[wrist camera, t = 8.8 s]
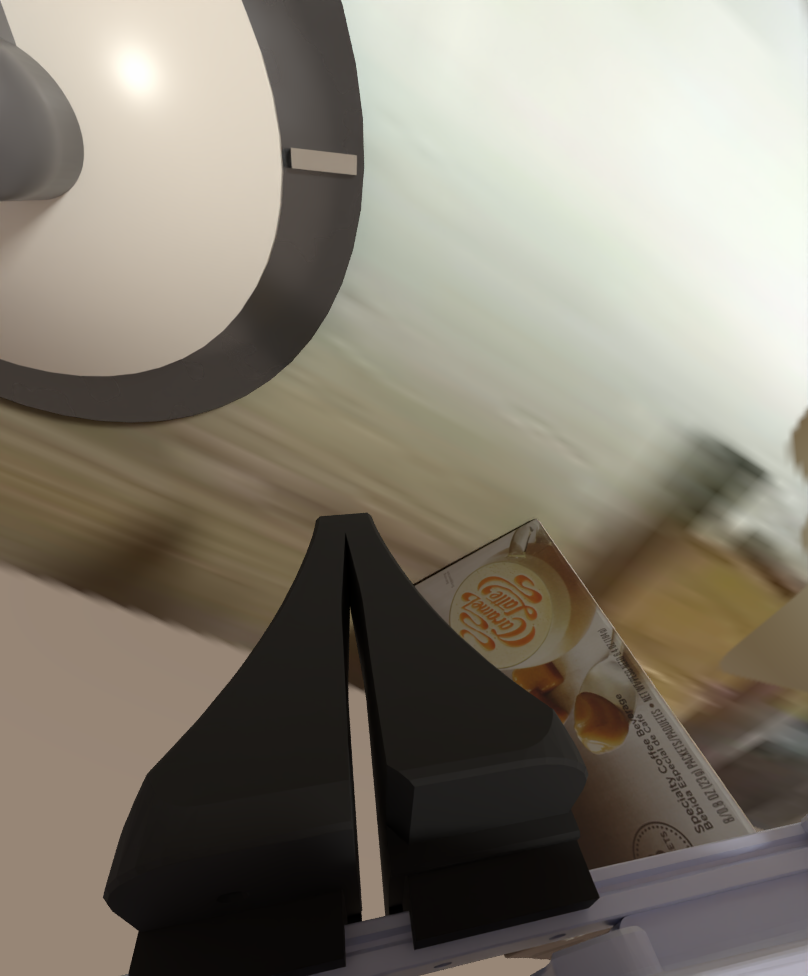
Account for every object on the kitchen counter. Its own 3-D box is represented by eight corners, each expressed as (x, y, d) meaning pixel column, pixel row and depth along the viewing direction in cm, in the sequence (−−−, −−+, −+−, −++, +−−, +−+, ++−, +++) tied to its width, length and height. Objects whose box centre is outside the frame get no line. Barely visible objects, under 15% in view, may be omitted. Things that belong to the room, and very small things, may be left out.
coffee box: (453, 633, 30) (557, 967, 17) (407, 586, 27) (494, 962, 14) (572, 571, 29) (786, 890, 16) (539, 512, 25) (782, 861, 12)
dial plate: (-121, 410, 16) (-149, 424, 15) (-870, -747, 6) (-1094, -924, 5) (356, 413, 19) (358, 425, 19) (372, -337, 9) (378, -398, 8)
